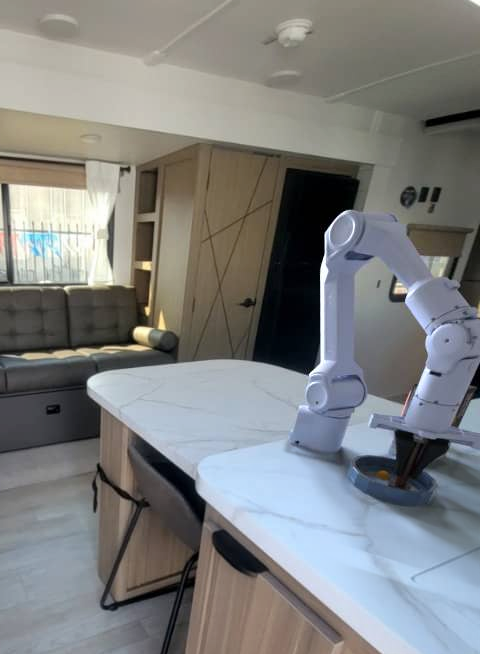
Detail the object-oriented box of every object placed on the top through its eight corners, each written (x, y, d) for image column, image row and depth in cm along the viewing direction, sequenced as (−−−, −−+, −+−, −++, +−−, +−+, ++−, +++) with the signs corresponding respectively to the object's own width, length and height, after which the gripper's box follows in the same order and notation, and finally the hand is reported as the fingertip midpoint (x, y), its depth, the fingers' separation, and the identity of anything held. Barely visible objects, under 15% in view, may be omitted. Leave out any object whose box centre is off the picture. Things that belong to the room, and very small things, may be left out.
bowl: (344, 498, 68) (352, 478, 67) (344, 467, 78) (351, 448, 76) (433, 522, 63) (443, 501, 61) (421, 485, 73) (430, 466, 71)
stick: (384, 487, 69) (404, 440, 65) (390, 481, 71) (409, 434, 67) (406, 496, 67) (428, 447, 63) (411, 489, 69) (433, 441, 65)
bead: (372, 479, 73) (377, 470, 72) (375, 476, 74) (381, 467, 73) (384, 485, 72) (390, 476, 71) (387, 482, 73) (393, 473, 72)
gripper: (383, 397, 62) (355, 472, 68) (506, 418, 56) (464, 499, 62) (380, 384, 68) (354, 455, 73) (492, 402, 61) (454, 478, 67)
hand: (404, 474), depth 68 cm, fingers closed on stick
